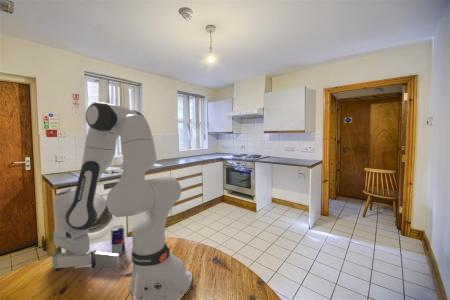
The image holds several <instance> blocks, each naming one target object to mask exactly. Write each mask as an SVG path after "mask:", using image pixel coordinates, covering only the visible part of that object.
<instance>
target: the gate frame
mask: <svg viewBox="0 0 450 300" xmlns="http://www.w3.org/2000/svg"><path fill="white" fill-rule="evenodd" d="M54 253H63V252H62V248H61V247H59V246H56V248H55V252H54ZM90 260H91V264H90V266H91V268H100V269H108V270H109V269H110V270H116V271H117V270H119V269H120V255H119V254H114V253H112V252H103V251H97V250H94V249H93V250H90Z"/></svg>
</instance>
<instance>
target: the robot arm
mask: <svg viewBox="0 0 450 300" xmlns="http://www.w3.org/2000/svg"><path fill="white" fill-rule="evenodd" d="M85 121H86V123H87V125H88V126H89V128H88V131H87V134H86V138H85V141H84V142H85V143H84V149H83V156H82V162H81V168H80V172H79V175H78V180H77V184H76V188H68V189H64V190H60V192H58V193H56V194H55V195H54V198H53V215H54V217H55V221H54V226H55V229H54V230H53V233H52V234H53V244H54V245H55V246H56V247H61V249H63V250H65V253H70V252H72V253H74V254H76V255H78V256H81V255H83V254H85V253H87V252H88V251H90V236H89V233H90V228H91V227H92V226H93V225H94V224H95V222H96V221H97V219H98V218H99V217H100V216H101V214H102V213H103V212H104V211H105V210H106V209H107V210H108V212H109V213H110V214H111V215H112V216H114V217H115V218H123V217H133V216H137V215H139V214H142V213H144V214H143V216H142V217H141V218H140V219H138V221H137V222H136V223H134V225H133V226H132V231H131V239H132V248H131V261H132V271H131V272H132V274H131V278H130V283H129V285H128V286H129V287H128V289H129V291H130V294H131V295H132V296H133V300H177V299H180V298H181V297H182V296H184V294H185V293H186V292H187V291H188V292H189V290H190V288H191V286H190V285H192V283H193V274H192V271H191V270H187V268H186V265H185V262H184V261H183V260H181V259H180V258H178V257H177V256H176V255H174V254H173V253H171V252H170V251H171V249H172V244H170V245H169V247H168V245H167V243H166V241H165V239H166V238H165V237H166V236H165V235H166V222H167V219H168V216H169V214H170V212H171V210H172V209H173V206H175V204H176V203H177V202H178V200H180V198H181V196H182V195H181V194H182V186H181V184H180V182H179V180H178V179H176V178H175V177H172V176H171V177H169V176H167V177H166V176H162V177H155V178H149V179H146V172H147V171H149V170H150V169H152V167H154V166H155V164H156V162H157V152H156V148H155V142H154V138H153V134H152V130H151V127H150V125H149V123H148V120H147V118H146V117H145V116H144V115H143V114H142V113H141V112H139V111H137V110H135V109H134V110H133V109H130V108H128V107H124V106H122V105H119V104H118V105H117V104H112V103H107V102H101V101H99V102H98V101H97V102H93V103H91V104H90V105H89V106H88V107H87V109H86V112H85ZM119 137H120V144H121V151H122V157H123V158H122V160H123V170H122V174H121V176H120V179H119V180H118V182H117V183H116V184H115V185H114V186H113V187H112V188H111V189H110V190H109V192H108V193H107V196H106V199H105V197H103V196H102V195H101V194H97V193H96V192H97V188H98V183H99V180H100V178H101V177H102V175H103V174H104V173H105V172H106V170H107V169H108V168H109V167H110V166H111V165H112V162H113V160H114V157H115V154H116V147H117V141H118V138H119ZM191 282H192V283H191ZM189 287H190V288H189ZM188 289H189V290H188ZM188 292H187V293H188ZM181 293H183V294H181ZM187 293H186V294H187ZM184 297H185V296H184Z"/></svg>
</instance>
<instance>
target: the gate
mask: <svg viewBox="0 0 450 300" xmlns="http://www.w3.org/2000/svg"><path fill="white" fill-rule="evenodd" d="M90 252H91V250H89V251H88V252H87V253H85V254H83V255H81V256H78V255H76V254H74V253H72V252H70V253H66V252H62V253H56V252H54V254H53V255H52V256H51V259H52V269H53V270H54V269H55V270H56V269H60V268H73V267H86V266H87V267H88V266H91V254H90Z"/></svg>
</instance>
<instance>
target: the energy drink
mask: <svg viewBox="0 0 450 300" xmlns="http://www.w3.org/2000/svg"><path fill="white" fill-rule="evenodd" d="M110 236H111V237H110V240H111V253H114V254H119V256H121V255H123V254H125V252H126V245H125V243H126V242H125V239H126V238H125V228H124V225H121V224H120V225H115V226H113V227H111V229H110Z"/></svg>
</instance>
